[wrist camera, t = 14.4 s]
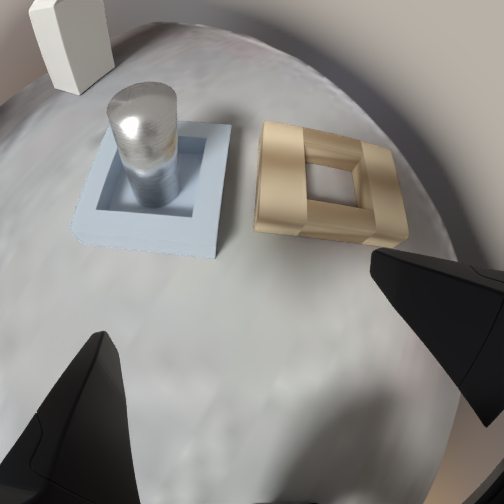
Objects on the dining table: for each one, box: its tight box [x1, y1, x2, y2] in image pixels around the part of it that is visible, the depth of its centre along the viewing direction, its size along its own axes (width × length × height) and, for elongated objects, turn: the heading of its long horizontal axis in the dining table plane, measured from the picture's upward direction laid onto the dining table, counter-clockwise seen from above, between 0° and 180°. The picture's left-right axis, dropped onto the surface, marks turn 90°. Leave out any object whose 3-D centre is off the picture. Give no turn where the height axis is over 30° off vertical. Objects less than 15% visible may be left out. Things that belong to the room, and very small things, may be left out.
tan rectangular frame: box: [254, 121, 410, 248], centre depth 25 cm, size 10×14×3 cm
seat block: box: [69, 121, 232, 259], centre depth 23 cm, size 12×12×3 cm
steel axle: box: [107, 82, 181, 208], centre depth 19 cm, size 4×4×10 cm
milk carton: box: [29, 0, 115, 95], centre depth 20 cm, size 7×7×19 cm
